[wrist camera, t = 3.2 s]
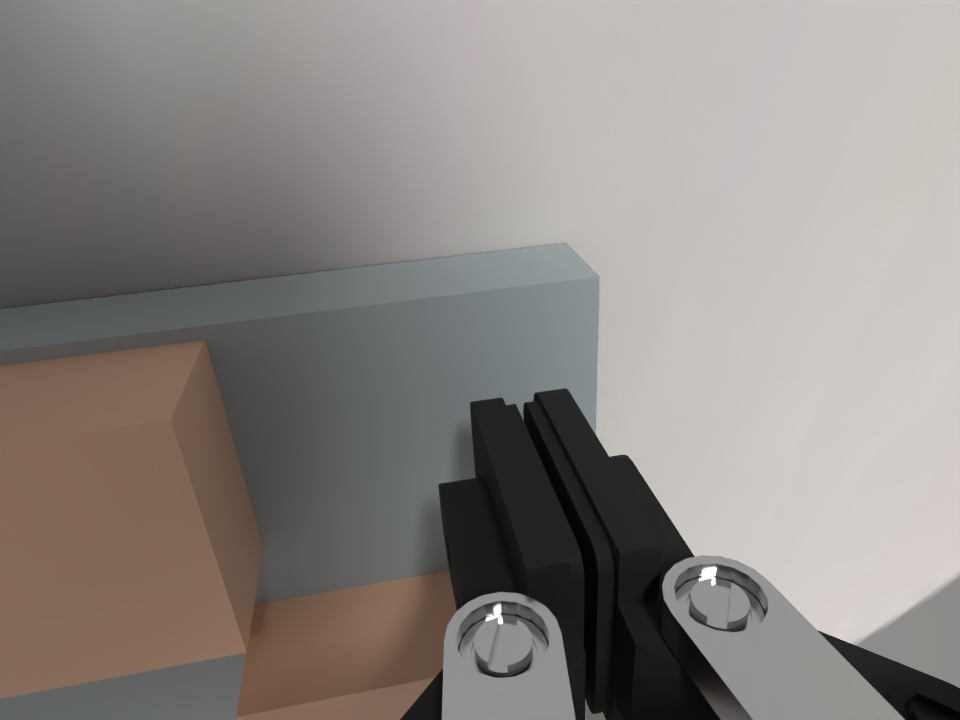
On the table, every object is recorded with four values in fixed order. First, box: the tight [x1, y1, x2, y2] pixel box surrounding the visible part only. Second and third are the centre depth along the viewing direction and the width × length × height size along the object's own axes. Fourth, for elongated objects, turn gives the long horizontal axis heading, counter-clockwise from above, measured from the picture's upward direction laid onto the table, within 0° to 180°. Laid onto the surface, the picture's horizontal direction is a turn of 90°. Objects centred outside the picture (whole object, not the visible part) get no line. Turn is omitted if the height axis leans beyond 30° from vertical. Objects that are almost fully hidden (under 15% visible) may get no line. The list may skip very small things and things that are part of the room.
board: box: [0, 243, 599, 720], centre depth 14 cm, size 11×15×2 cm
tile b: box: [236, 570, 457, 720], centre depth 14 cm, size 4×4×2 cm
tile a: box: [0, 340, 263, 699], centre depth 11 cm, size 4×4×2 cm
